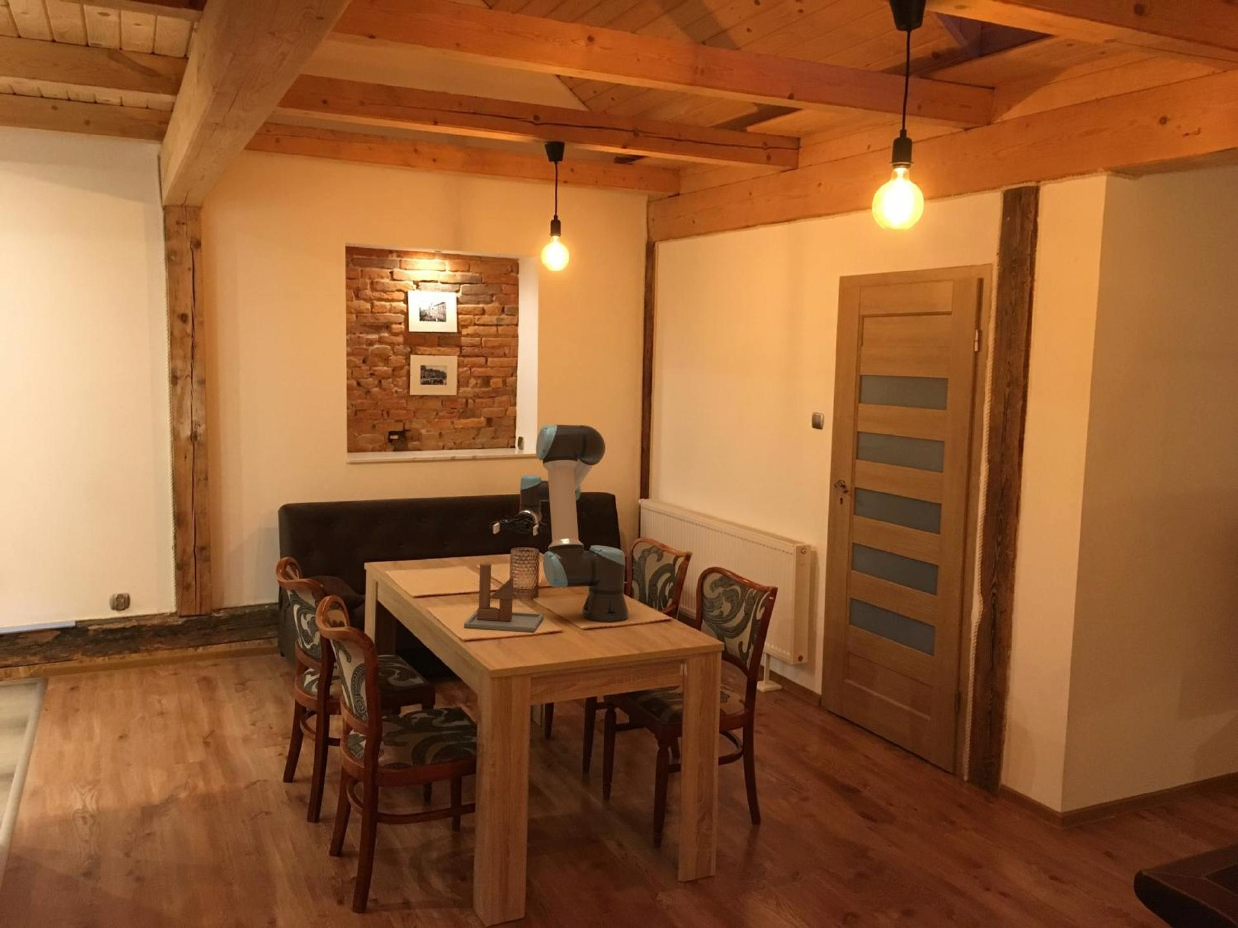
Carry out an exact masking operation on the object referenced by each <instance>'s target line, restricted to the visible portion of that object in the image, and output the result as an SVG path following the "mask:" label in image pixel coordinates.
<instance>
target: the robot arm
mask: <svg viewBox="0 0 1238 928" xmlns="http://www.w3.org/2000/svg"><path fill="white" fill-rule="evenodd" d="M535 444H536V445H535V454H536V459H537V460H539V461H542V467H543V468H544V469H546V471H547V478H548V479H547V480H542V477H541V476H540V475H536V474H534V475H533V474H527V475H523V476H521V478H520V485H519V486H520V487H519V512H518V513H517V514H516V515H515V516H514V518H513V519H509V521H508V519H506V518H504V519H501V520H496V521H490V522H489V531H492V533H493V534H497V533H499V532H500V531H501V530H502V531H503V530H510V531H516V532H517V533H519V534H522V535H525V534H528V533H530V532H532V533H533V534H532V535H533V536H536V535H538V534H539V533H548V532H549V531H548V527H549V526H548V524H546V523H545V522H542V517H543V515H542V512H541V505H542V504H541V502H549V509H550V512H549V513H550V525H551V526H550V527H551V543H550V544H549V546H548V548H547V550H548V551H546V552H544V554H543V557H542V567H543V573H544V576H545V580H546V581H547V583H548V584H549V585H550V587H553V588H563V589H565V588H566V589H567V588H575V587H576V588H580V587H581V588H582V587H588V593H587V596H586V599H585V602H584V604H583V607H582V617H583V618H585V619H587V620H590V621H594V622H595V621H596V622H604V623H605V622H606V623H607V622H608V623H609V622H611V623H612V622H621V621H624V620H627V619H628V617H629V607H628V605H627V602H626V599H625V595H624V593H625V592H624V590H625V569H626V555H625V553H624V551H623V550H621V549H619V548H616V547H612V546H606V545H598V544H596V545H594V544H593V545H591V546H590V547H589V550H585V549H584V548H585V547H584V544H583V543H582V542H581V541H580V540H579V527H578V513H577V501H578V500H579V499H580V496H581V491H582V490H581V484H582V483H583V481H584V480H585V478H586V477H587V476H588V475H589V472H590V471H591V470H592V468H593V467H594V466H596V465H598V464H599V463H600V462H601V461H602V460H603V458H604V456H605V453H606V443H605V439H604V438H603V436H602V434H601V433H600V432H599V431H598V430H597V429H596V428H594V427H592V426H589V425H585V424H584V425H583V424H580V425H579V424H577V425H576V424H575V425H573V424H572V425H571V424H548V425H547V424H546V425H544V426H542V427H541V428H540V430H539V432H538V434H537V439H536V443H535Z"/></svg>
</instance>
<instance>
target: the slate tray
mask: <svg viewBox="0 0 1238 928" xmlns="http://www.w3.org/2000/svg"><path fill="white" fill-rule="evenodd" d="M543 620H544V613H535V612H533V613H532V612H520V611H519V612H517V611H512V619H511V621H510V622H505V621H492V620H478V619H477V609H476V611H474V612H473V613H472V615H470V616H469V618H468V619H466V621H465V622H464V623H463V629H473V630H490V631H502V632H516V633H517V632H521V633H535V632H536V630H537V628H538V627H539V625H540V624H541V623H542V621H543Z"/></svg>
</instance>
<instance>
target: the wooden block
mask: <svg viewBox="0 0 1238 928" xmlns="http://www.w3.org/2000/svg"><path fill="white" fill-rule="evenodd" d="M491 580H492V564H491V563H490V562H482V563H480V564H479V585H478V587H479V588H478V590H479V593H478V608H477V609H476V610H477V619H478V620H492V621H505V622H510V621H511V619H512V612H513V602H514V601H513V599H514V598H513V595H514V576H511V577H510V578H509V579H508V580H507V581H505V582H504V583H503V585H501V586H500V587H499V588H498V589H497V590H496V591H494V593H493V594H491V590H492V588H491V586H492V582H491ZM491 599H492V600H499V607H496V606H493V607H492V606H491Z"/></svg>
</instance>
